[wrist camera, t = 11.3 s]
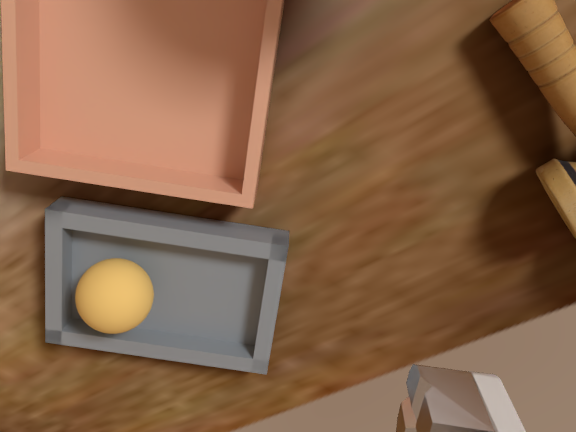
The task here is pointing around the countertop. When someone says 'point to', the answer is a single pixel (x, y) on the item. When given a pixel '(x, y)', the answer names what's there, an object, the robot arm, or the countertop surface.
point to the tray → (169, 282)
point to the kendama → (547, 82)
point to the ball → (114, 295)
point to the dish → (141, 93)
